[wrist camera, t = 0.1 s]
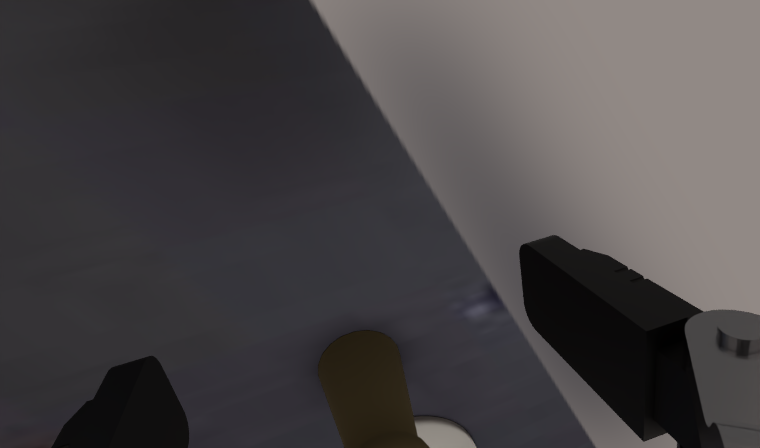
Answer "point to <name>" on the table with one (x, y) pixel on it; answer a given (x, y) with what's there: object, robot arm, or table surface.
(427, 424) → the saucer
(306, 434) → the table surface
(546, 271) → the robot arm
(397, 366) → the cork
